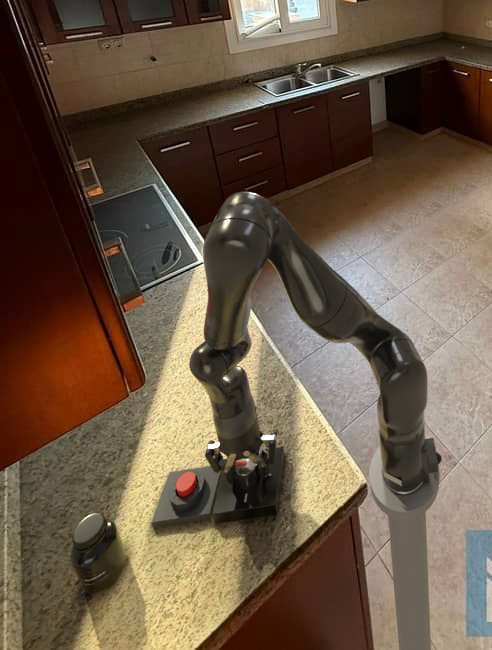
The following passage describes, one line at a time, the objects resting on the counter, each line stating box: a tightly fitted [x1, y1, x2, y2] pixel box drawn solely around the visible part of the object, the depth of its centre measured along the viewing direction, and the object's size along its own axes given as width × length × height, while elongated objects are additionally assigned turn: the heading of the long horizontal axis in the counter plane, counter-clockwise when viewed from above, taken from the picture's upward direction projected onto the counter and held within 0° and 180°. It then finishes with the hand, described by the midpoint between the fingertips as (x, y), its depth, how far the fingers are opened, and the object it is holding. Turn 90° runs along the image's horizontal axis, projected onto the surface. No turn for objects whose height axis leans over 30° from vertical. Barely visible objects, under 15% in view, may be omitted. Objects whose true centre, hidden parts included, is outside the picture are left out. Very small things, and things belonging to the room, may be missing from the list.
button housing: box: [150, 465, 223, 529], centre depth 88 cm, size 11×9×4 cm
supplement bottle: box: [69, 511, 127, 595], centre depth 76 cm, size 7×7×12 cm
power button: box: [176, 472, 197, 497], centre depth 87 cm, size 4×4×2 cm
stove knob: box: [235, 459, 261, 490], centre depth 88 cm, size 4×4×5 cm
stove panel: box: [212, 446, 286, 525], centre depth 89 cm, size 12×11×3 cm
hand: (249, 476), depth 88 cm, fingers open, 5 cm apart
